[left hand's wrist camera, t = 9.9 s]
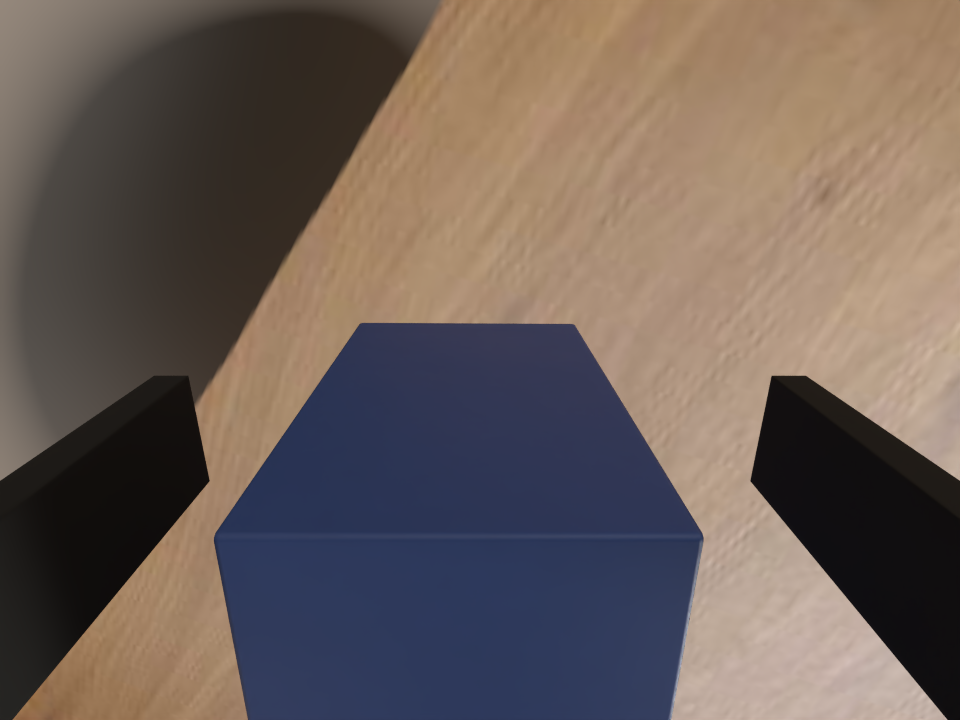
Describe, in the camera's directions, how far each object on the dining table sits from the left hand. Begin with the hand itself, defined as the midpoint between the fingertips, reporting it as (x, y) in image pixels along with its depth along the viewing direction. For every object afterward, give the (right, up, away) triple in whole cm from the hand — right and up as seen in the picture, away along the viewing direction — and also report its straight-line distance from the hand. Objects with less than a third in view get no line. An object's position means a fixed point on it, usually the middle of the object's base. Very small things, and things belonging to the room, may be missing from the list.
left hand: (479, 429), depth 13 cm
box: (0, -9, +7) cm, 11 cm away
